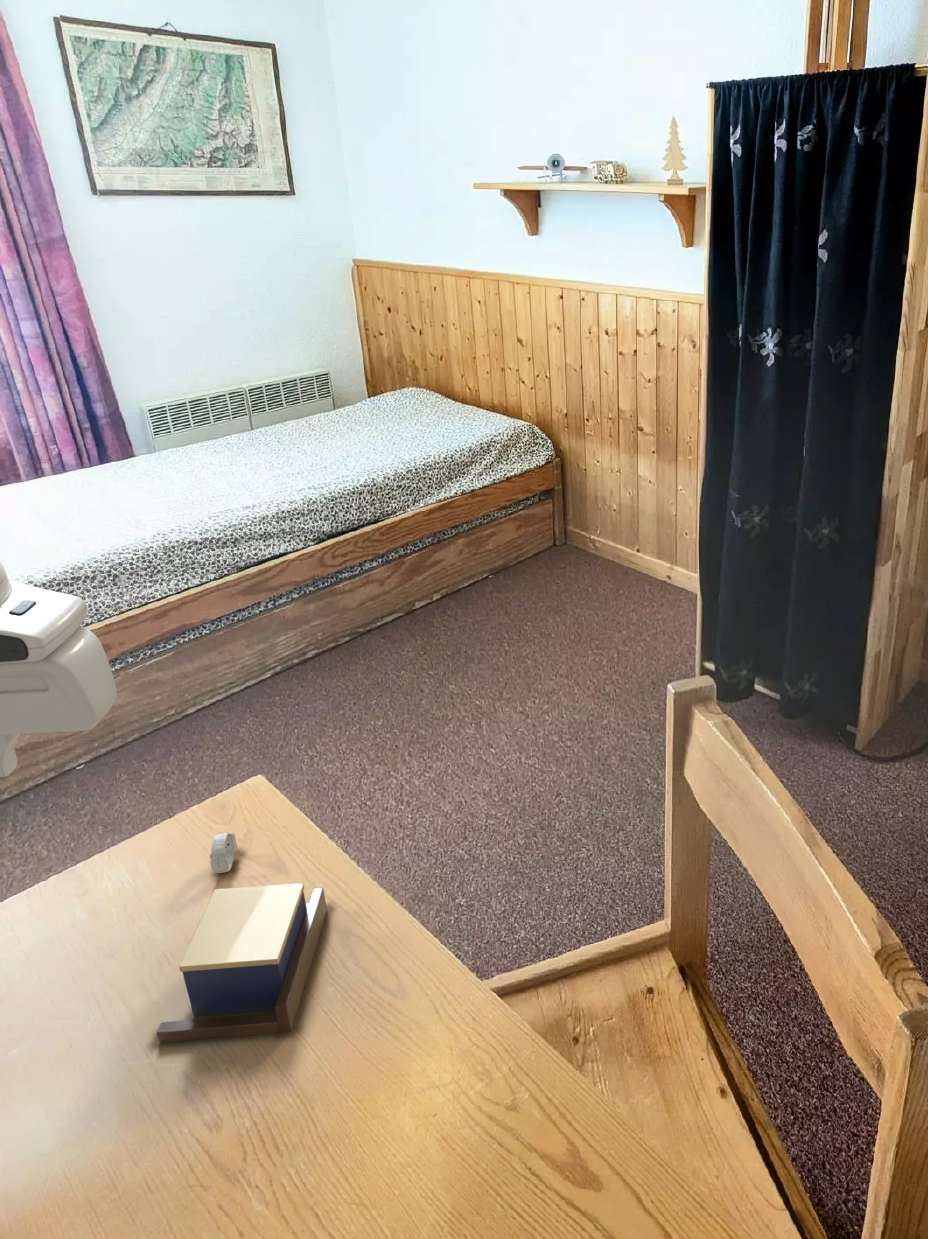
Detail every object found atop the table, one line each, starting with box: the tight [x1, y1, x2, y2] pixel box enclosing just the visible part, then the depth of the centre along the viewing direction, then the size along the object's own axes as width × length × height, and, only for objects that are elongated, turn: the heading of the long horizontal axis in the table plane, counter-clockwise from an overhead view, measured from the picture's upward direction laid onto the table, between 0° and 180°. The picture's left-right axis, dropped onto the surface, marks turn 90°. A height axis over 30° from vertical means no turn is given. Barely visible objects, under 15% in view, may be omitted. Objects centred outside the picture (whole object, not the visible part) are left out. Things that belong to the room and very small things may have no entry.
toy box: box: [178, 882, 307, 1017], centre depth 76 cm, size 8×8×6 cm
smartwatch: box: [209, 831, 238, 874], centre depth 88 cm, size 4×2×4 cm, turn 13°
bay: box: [156, 887, 328, 1044], centre depth 76 cm, size 11×13×3 cm
